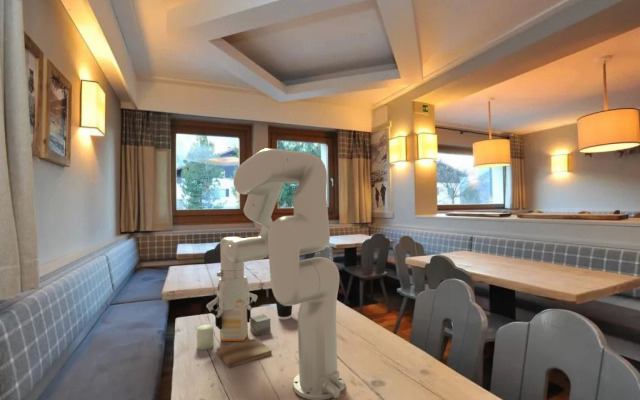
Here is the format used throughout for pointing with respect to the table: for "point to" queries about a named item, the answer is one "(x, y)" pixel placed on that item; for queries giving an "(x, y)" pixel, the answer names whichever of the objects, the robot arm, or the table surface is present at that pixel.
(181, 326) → the table surface
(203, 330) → the sage capsule
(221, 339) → the supplement box
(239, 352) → the tan board
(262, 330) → the gray block
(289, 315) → the dixie cup
